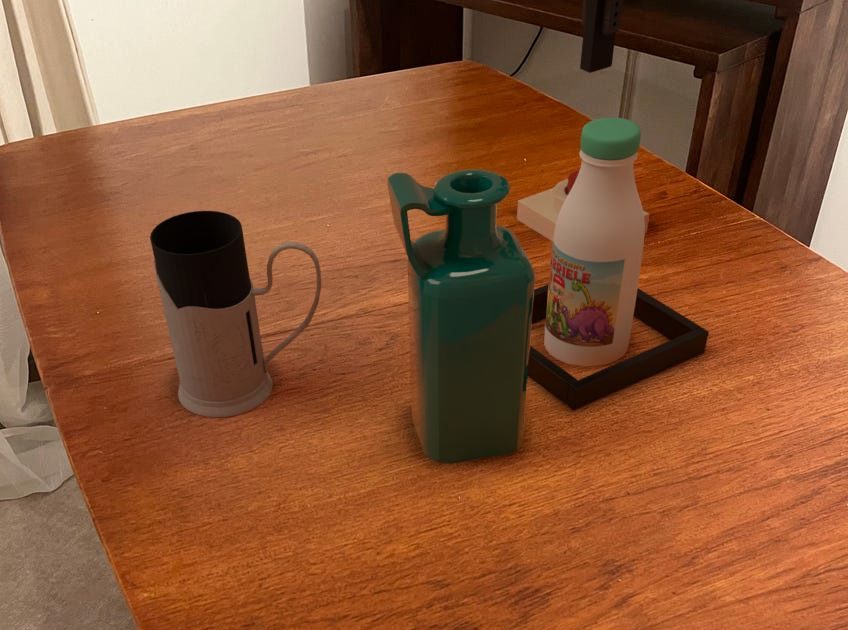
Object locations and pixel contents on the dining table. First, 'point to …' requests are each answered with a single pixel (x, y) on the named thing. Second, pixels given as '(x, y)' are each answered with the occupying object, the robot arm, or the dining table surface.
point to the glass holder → (216, 312)
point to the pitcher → (465, 317)
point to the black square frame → (578, 393)
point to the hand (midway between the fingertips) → (595, 67)
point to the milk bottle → (597, 250)
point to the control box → (547, 210)
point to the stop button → (571, 180)
